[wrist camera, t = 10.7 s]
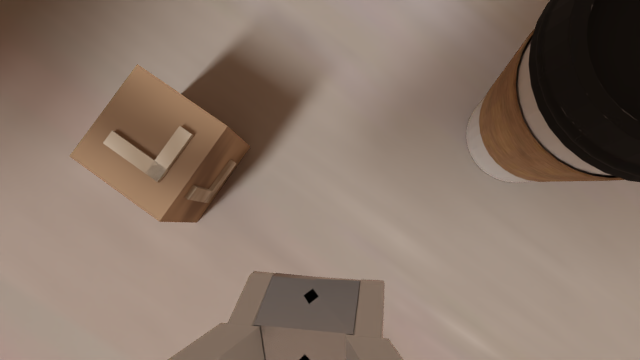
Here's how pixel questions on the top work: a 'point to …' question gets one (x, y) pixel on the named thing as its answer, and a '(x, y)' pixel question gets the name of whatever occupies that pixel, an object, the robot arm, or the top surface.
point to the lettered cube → (160, 149)
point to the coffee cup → (566, 99)
